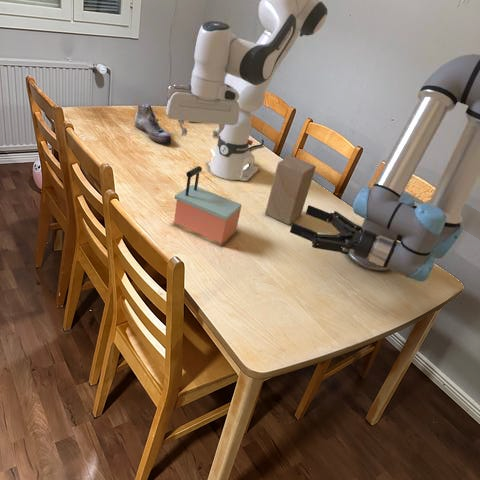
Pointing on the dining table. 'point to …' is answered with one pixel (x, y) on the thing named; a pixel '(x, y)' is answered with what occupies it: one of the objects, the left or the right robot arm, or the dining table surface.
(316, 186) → the dining table surface
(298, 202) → the wooden block
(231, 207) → the lid
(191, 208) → the chest
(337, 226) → the right robot arm
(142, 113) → the shoe
